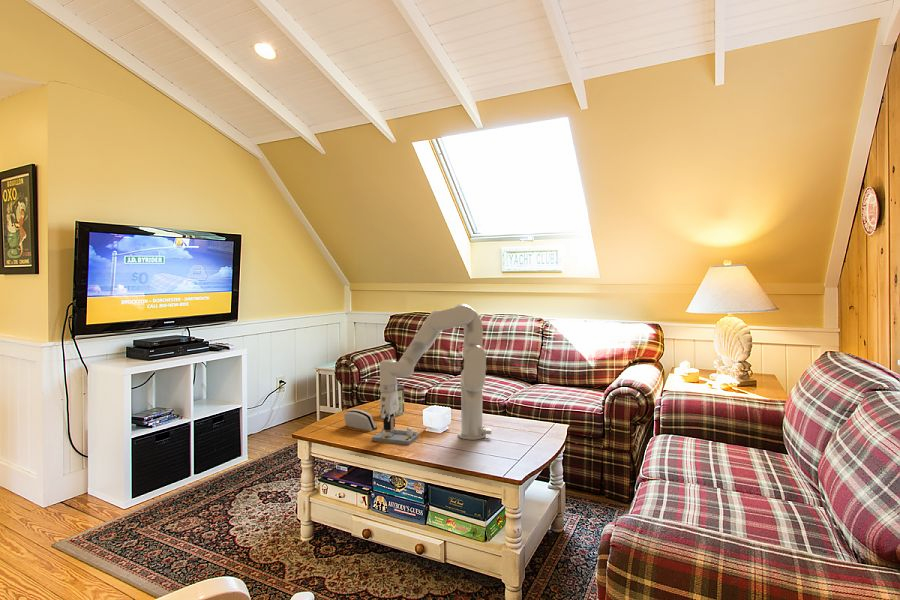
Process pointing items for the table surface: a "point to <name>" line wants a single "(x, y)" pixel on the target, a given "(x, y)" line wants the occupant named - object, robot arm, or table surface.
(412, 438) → the gauge board
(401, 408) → the coffee can
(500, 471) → the table surface
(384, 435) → the trammel slider
